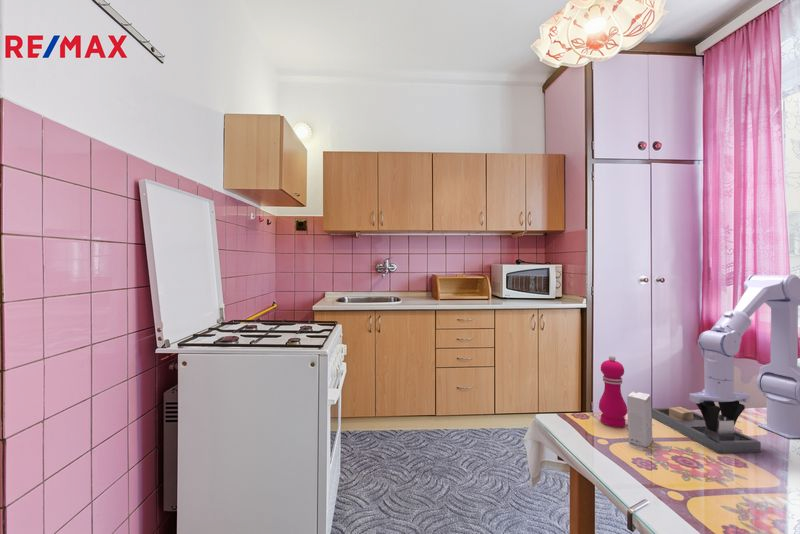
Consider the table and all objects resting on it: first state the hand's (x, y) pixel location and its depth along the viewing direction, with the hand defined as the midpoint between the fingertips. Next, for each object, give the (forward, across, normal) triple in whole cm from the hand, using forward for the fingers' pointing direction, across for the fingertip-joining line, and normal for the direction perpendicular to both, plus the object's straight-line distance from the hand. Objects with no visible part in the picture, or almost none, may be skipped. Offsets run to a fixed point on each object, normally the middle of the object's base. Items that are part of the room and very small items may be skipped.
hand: (719, 429), depth 91 cm
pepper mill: (+4, +20, -13) cm, 24 cm away
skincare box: (+4, +20, -2) cm, 20 cm away
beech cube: (+3, 0, -12) cm, 12 cm away
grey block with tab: (+3, 0, 0) cm, 3 cm away
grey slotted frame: (+3, 0, -6) cm, 7 cm away
